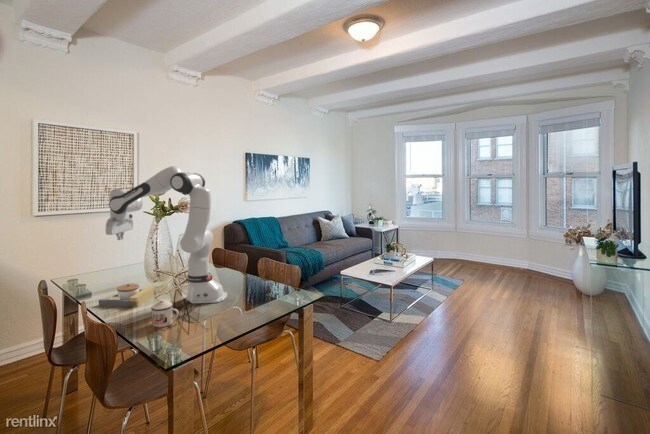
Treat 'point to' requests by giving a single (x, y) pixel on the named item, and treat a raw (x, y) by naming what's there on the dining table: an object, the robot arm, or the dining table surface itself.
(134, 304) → the grey and yellow tray
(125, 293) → the lidded jar
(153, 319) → the teacup with lid
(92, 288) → the dining table surface
